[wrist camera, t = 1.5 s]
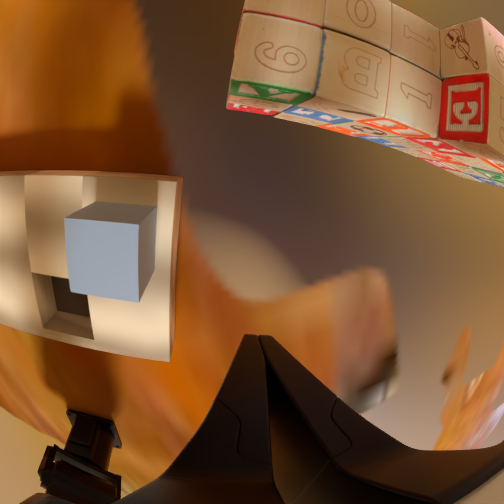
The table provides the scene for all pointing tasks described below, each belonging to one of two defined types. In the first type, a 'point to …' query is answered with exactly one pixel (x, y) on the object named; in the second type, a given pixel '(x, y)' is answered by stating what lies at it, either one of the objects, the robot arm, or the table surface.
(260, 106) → the stack of blocks
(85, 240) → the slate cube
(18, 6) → the table surface
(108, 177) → the board
